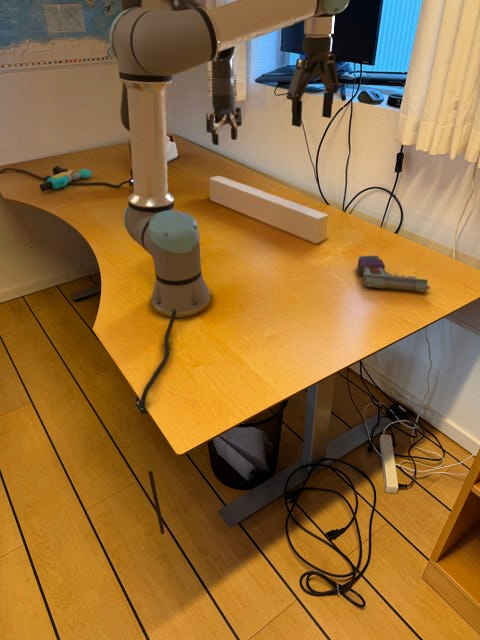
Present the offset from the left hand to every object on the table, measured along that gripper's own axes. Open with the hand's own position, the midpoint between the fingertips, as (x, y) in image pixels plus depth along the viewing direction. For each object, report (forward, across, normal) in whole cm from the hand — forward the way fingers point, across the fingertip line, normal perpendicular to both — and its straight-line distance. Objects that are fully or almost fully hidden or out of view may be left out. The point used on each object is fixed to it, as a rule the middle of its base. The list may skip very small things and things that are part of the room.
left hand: (225, 142), depth 167 cm
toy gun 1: (+22, +36, -66) cm, 78 cm away
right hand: (-13, 0, +38) cm, 40 cm away
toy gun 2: (+23, +5, +74) cm, 78 cm away
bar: (+23, 0, +19) cm, 29 cm away
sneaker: (+22, -9, -56) cm, 61 cm away
